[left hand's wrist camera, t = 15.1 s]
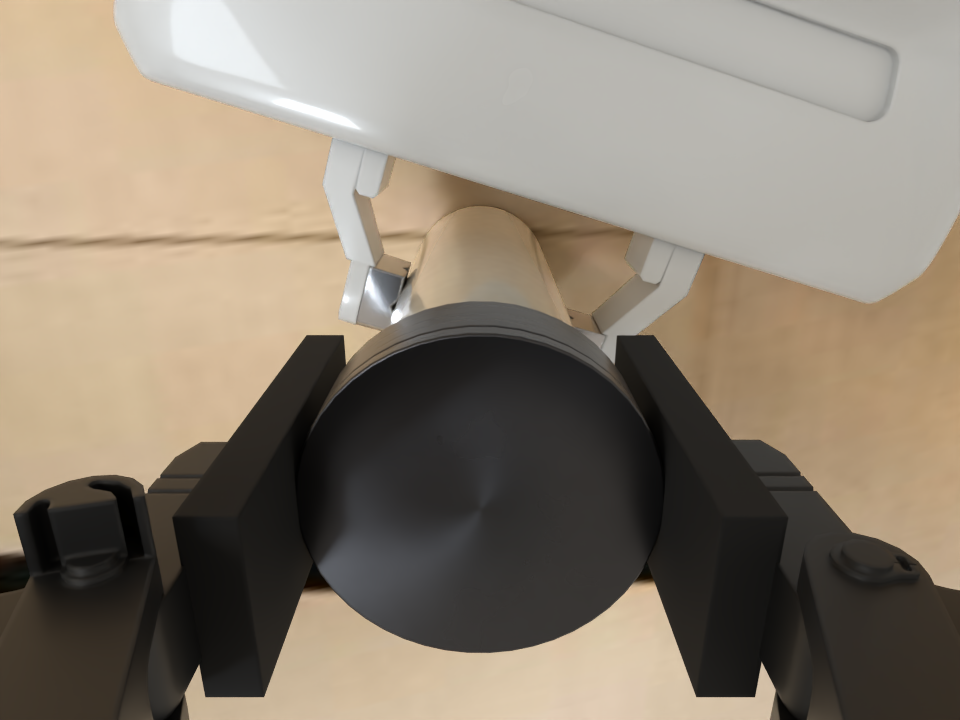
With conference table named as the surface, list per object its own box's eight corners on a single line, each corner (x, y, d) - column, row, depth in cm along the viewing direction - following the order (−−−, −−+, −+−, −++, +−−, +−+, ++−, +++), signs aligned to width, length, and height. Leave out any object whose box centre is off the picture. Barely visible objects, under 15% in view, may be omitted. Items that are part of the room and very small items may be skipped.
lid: (266, 358, 11) (231, 400, 10) (594, 254, 11) (614, 281, 9) (387, 617, 13) (374, 687, 12) (672, 541, 13) (700, 604, 11)
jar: (404, 217, 24) (297, 380, 10) (535, 194, 24) (613, 330, 10) (429, 340, 26) (368, 629, 12) (552, 320, 26) (641, 592, 11)
